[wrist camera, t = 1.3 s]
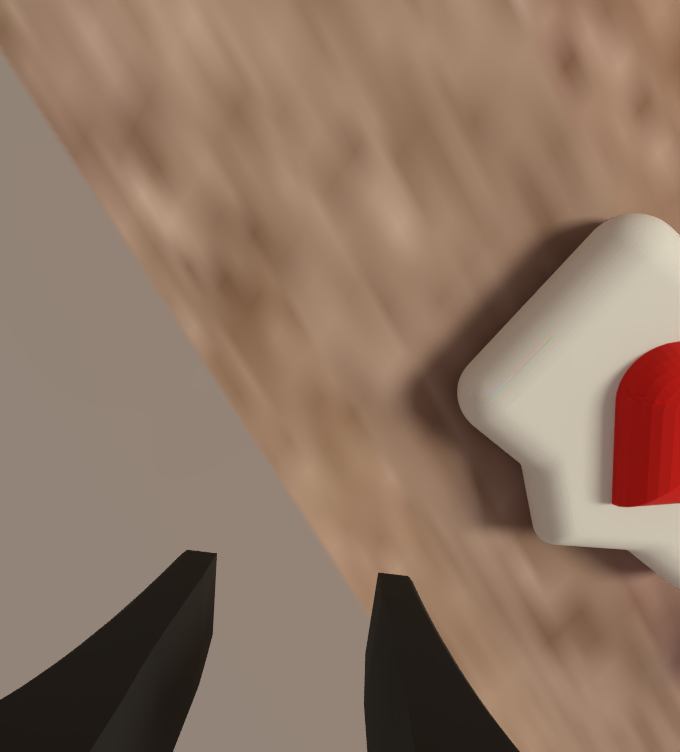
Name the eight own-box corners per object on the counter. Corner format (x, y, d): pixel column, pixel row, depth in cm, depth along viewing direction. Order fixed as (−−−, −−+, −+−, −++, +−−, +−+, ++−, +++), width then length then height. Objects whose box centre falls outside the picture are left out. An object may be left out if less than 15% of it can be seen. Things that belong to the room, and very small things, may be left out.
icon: (415, 472, 17) (685, 193, 14) (404, 416, 21) (611, 193, 18) (695, 688, 19) (977, 480, 16) (635, 598, 23) (851, 421, 20)
